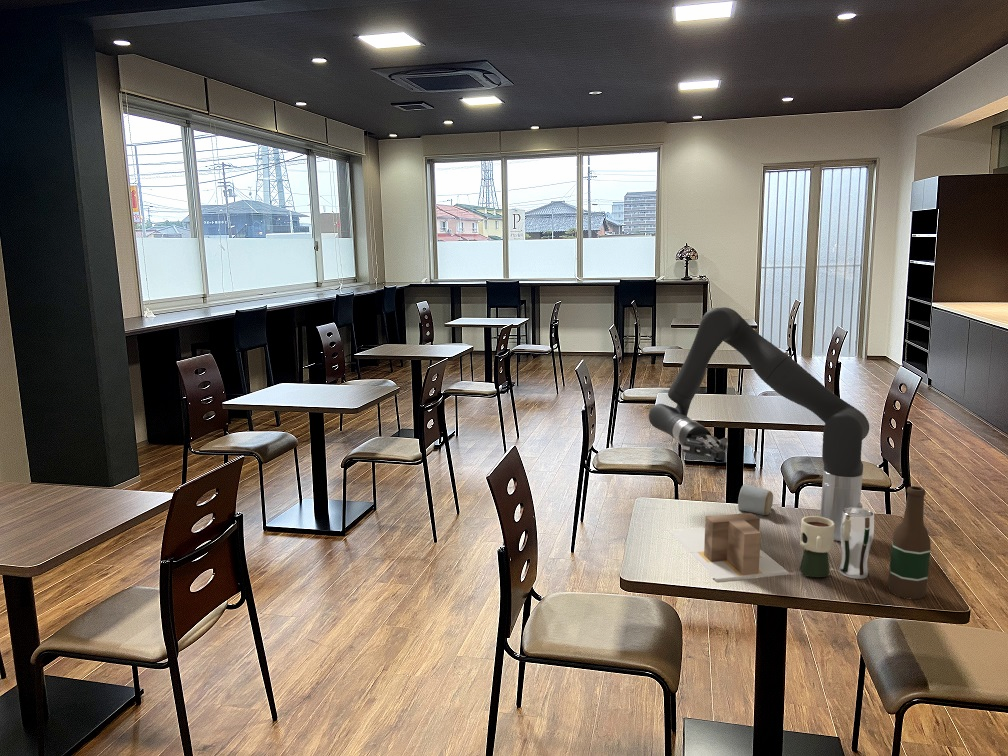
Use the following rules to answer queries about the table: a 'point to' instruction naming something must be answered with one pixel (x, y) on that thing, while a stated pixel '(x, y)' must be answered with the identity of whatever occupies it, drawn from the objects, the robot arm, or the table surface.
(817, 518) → the character mug
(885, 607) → the table surface
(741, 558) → the t block
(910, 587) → the beer bottle
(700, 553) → the board
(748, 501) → the grey cylinder
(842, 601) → the table surface
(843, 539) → the beer glass
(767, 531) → the table surface
